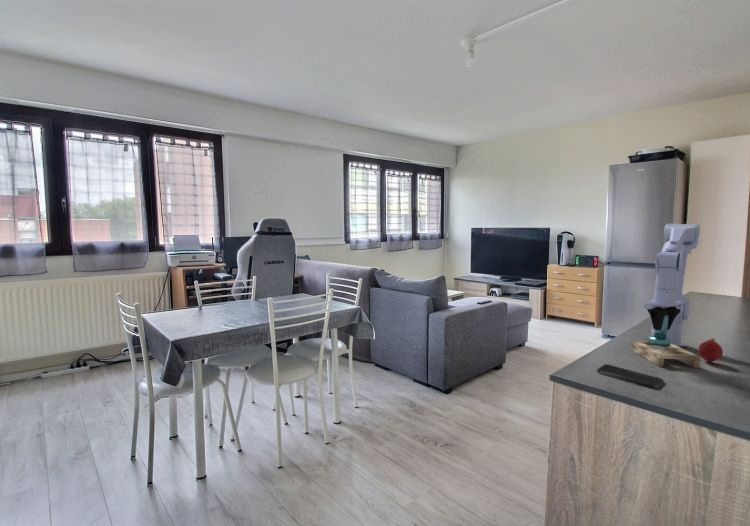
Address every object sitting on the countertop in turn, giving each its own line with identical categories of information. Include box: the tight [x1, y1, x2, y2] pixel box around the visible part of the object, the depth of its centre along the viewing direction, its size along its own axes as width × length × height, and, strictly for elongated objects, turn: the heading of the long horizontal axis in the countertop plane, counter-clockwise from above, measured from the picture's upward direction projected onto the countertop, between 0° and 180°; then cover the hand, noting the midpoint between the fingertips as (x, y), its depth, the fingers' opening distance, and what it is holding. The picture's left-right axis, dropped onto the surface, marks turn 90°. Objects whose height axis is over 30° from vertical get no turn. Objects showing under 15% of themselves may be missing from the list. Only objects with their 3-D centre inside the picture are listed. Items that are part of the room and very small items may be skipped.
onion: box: [697, 337, 724, 363], centre depth 124 cm, size 6×6×8 cm
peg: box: [647, 314, 671, 348], centre depth 128 cm, size 6×6×10 cm
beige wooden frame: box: [631, 340, 701, 369], centre depth 126 cm, size 14×12×4 cm
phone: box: [596, 363, 665, 390], centre depth 111 cm, size 8×1×15 cm
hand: (661, 329), depth 128 cm, fingers closed on peg, 3 cm apart
